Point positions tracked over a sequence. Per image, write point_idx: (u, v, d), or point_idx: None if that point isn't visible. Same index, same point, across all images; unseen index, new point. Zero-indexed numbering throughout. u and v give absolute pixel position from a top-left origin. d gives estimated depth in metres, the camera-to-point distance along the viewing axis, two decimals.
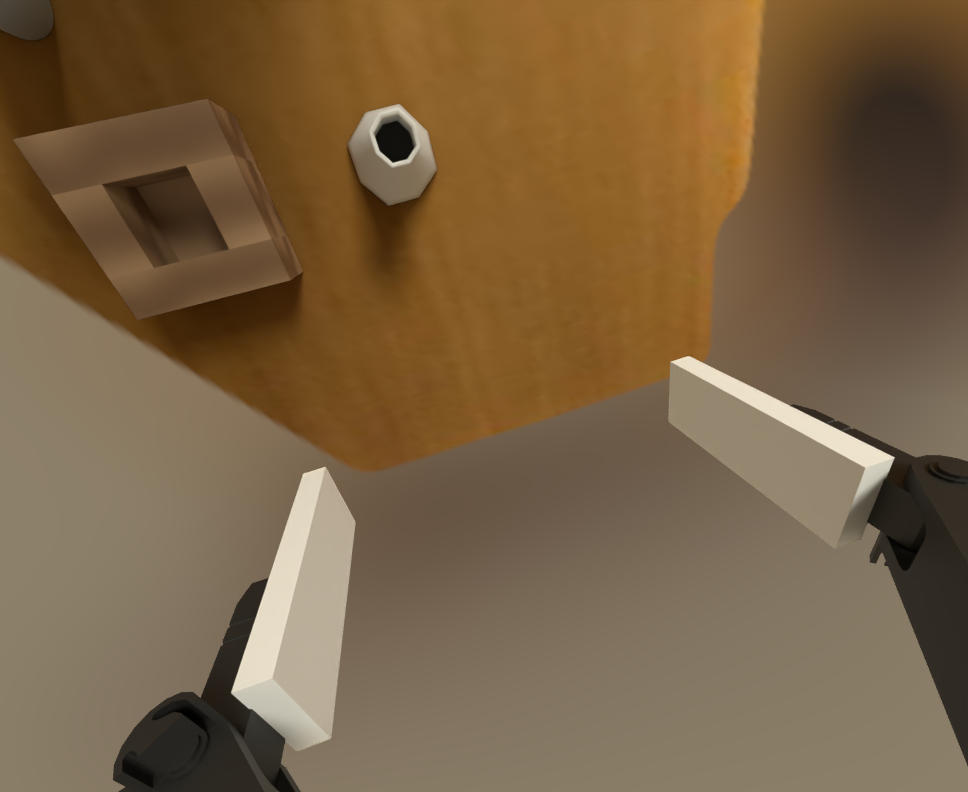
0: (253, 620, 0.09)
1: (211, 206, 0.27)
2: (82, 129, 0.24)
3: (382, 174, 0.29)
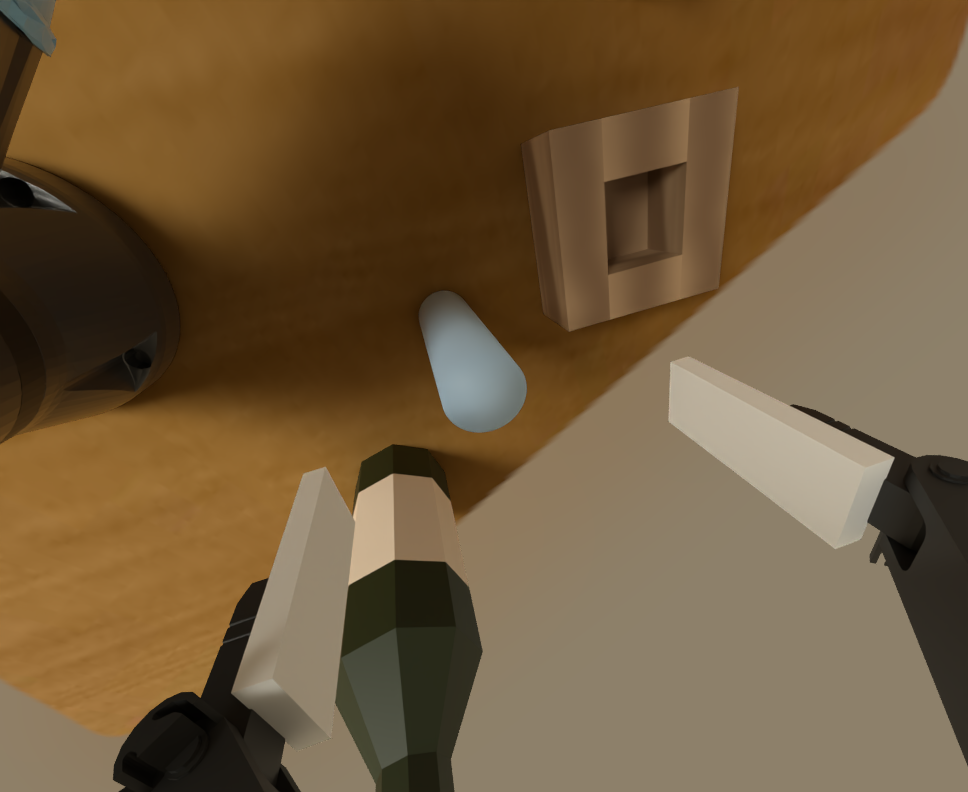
0: (253, 620, 0.09)
1: (643, 167, 0.23)
2: (566, 273, 0.25)
3: None
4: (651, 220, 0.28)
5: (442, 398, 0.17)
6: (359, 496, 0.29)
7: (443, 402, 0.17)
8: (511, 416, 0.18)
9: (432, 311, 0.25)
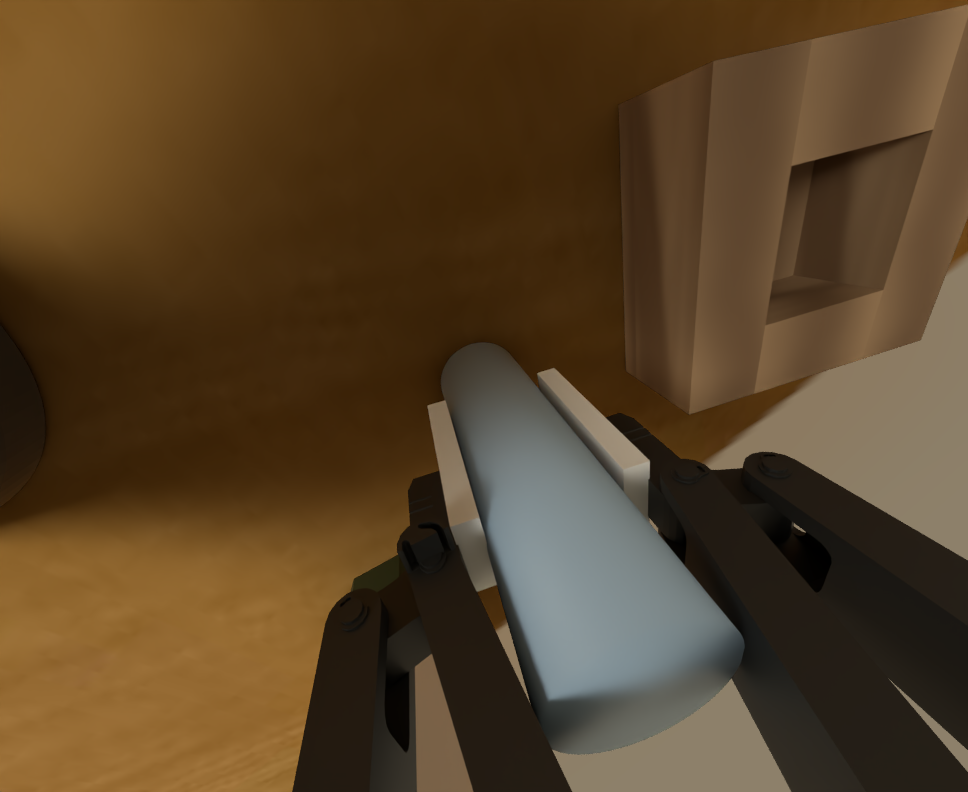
0: (428, 499, 0.11)
1: (861, 139, 0.12)
2: (700, 326, 0.14)
3: None
4: (811, 232, 0.18)
5: (541, 722, 0.06)
6: None
7: (543, 727, 0.06)
8: (689, 711, 0.08)
9: (470, 391, 0.14)
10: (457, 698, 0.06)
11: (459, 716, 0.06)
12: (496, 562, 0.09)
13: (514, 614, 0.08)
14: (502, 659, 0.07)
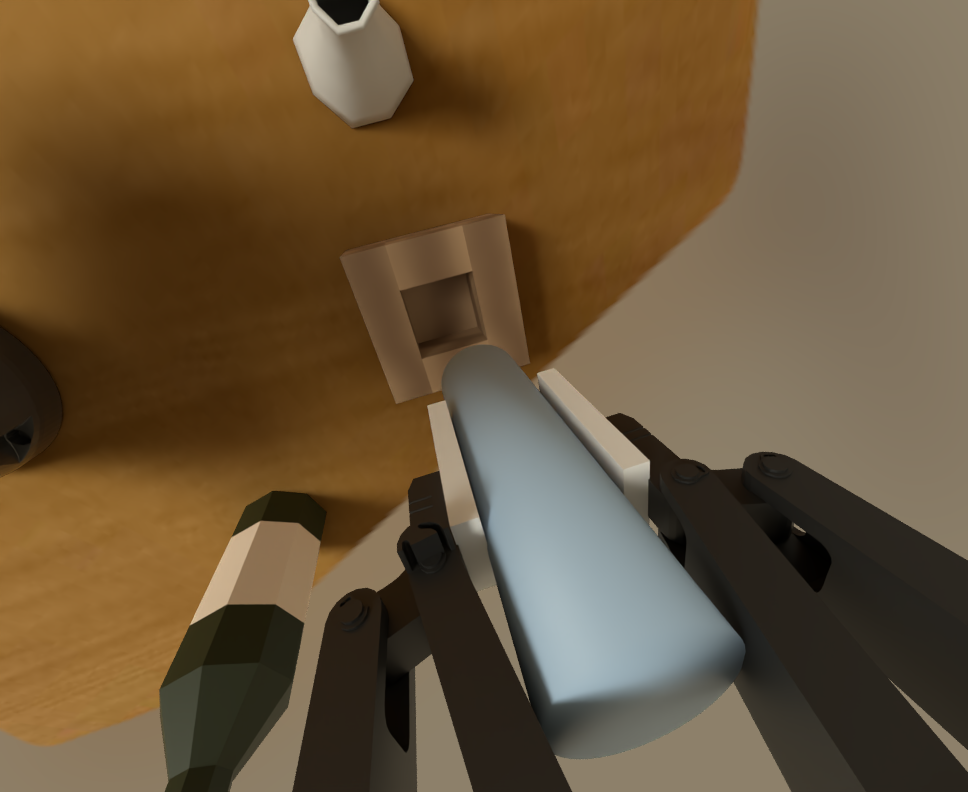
0: (428, 499, 0.11)
1: (433, 277, 0.28)
2: (382, 360, 0.29)
3: (382, 58, 0.22)
4: (473, 305, 0.33)
5: (543, 727, 0.06)
6: (230, 541, 0.34)
7: (544, 732, 0.06)
8: (690, 715, 0.08)
9: (471, 394, 0.14)
10: (457, 698, 0.06)
11: (459, 716, 0.06)
12: (497, 566, 0.09)
13: (515, 619, 0.08)
14: (502, 659, 0.07)
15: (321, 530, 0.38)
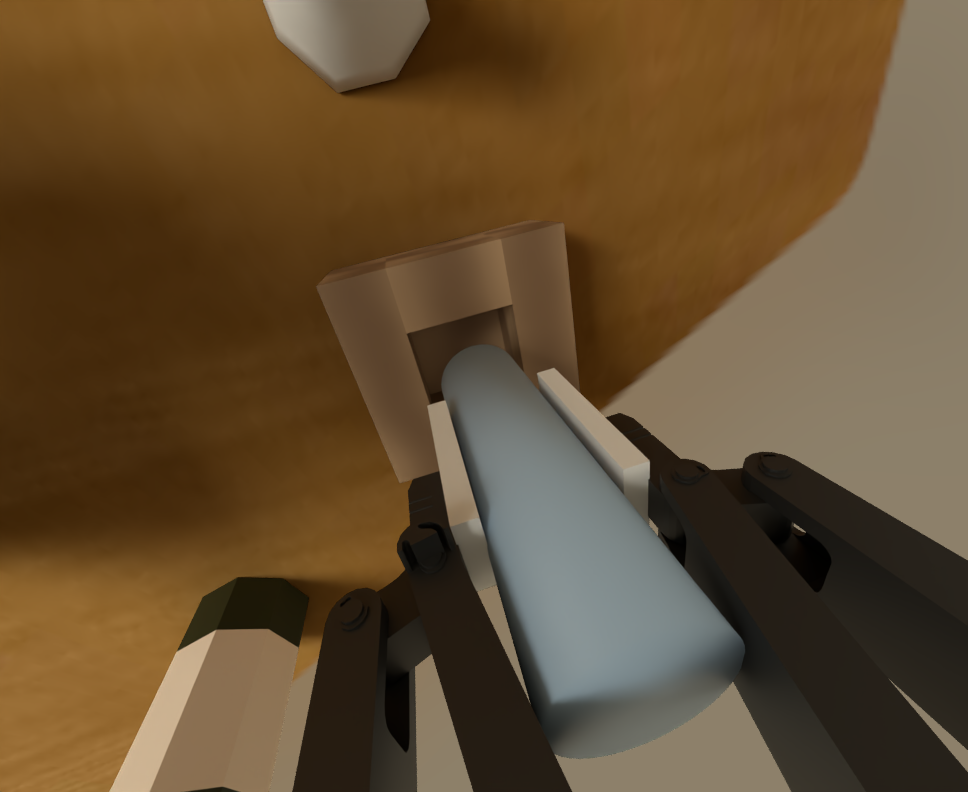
0: (428, 499, 0.11)
1: (456, 314, 0.19)
2: (380, 428, 0.21)
3: None
4: (505, 345, 0.24)
5: (543, 727, 0.06)
6: (174, 658, 0.25)
7: (544, 732, 0.06)
8: (690, 715, 0.08)
9: (471, 394, 0.14)
10: (457, 698, 0.06)
11: (459, 716, 0.06)
12: (497, 566, 0.09)
13: (515, 618, 0.08)
14: (502, 659, 0.07)
15: (300, 629, 0.29)
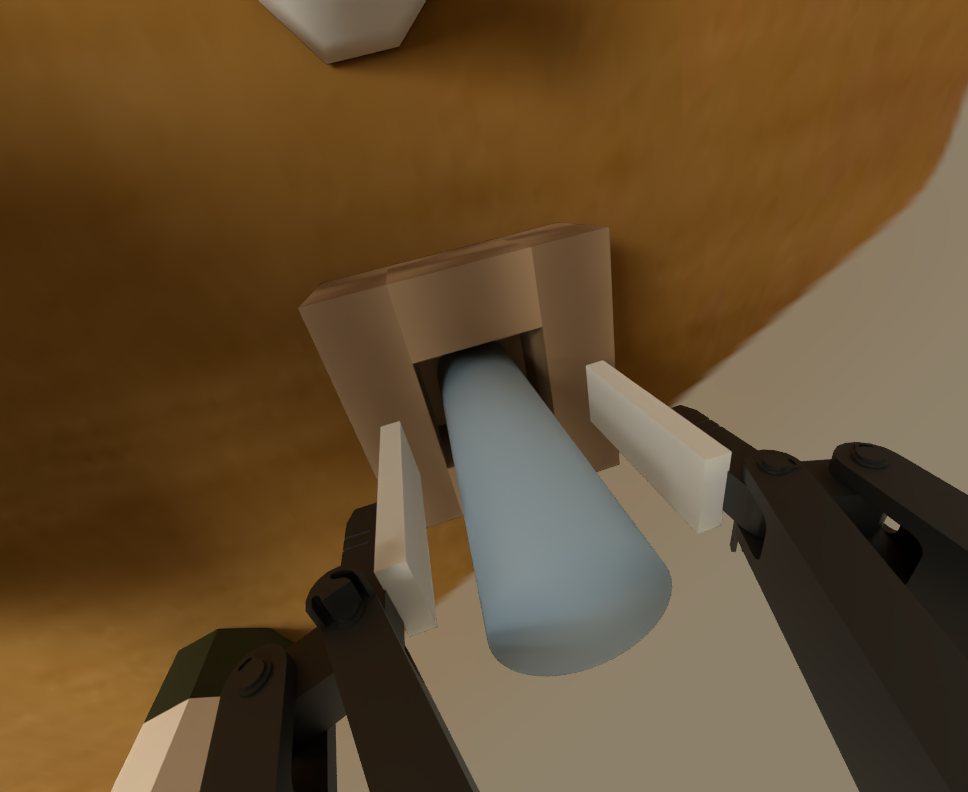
0: (365, 533, 0.10)
1: (473, 340, 0.15)
2: None
3: None
4: (527, 369, 0.20)
5: (489, 632, 0.07)
6: (140, 733, 0.22)
7: (491, 639, 0.07)
8: (630, 643, 0.08)
9: (459, 376, 0.15)
10: (377, 768, 0.06)
11: (379, 789, 0.05)
12: (466, 514, 0.10)
13: (476, 552, 0.09)
14: (425, 711, 0.06)
15: None
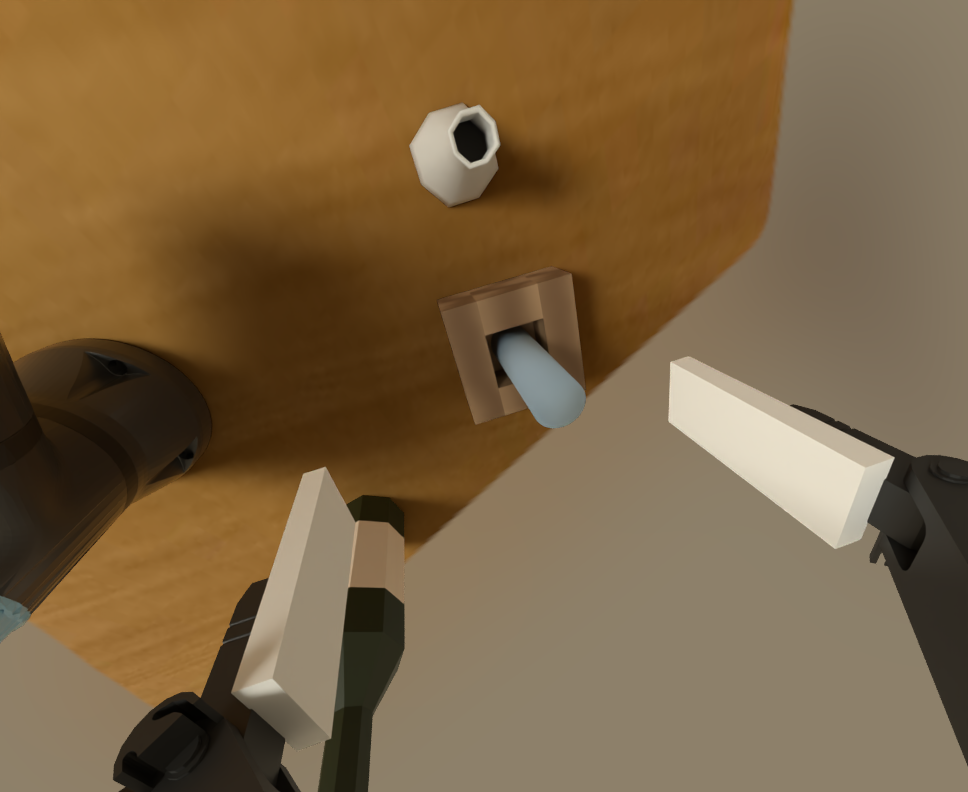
0: (253, 620, 0.09)
1: (512, 324, 0.34)
2: (467, 390, 0.36)
3: (485, 166, 0.28)
4: (537, 341, 0.39)
5: (533, 407, 0.26)
6: None
7: (533, 409, 0.26)
8: (575, 417, 0.28)
9: (507, 342, 0.34)
10: None
11: None
12: (521, 385, 0.29)
13: (526, 392, 0.28)
14: None
15: (403, 528, 0.45)
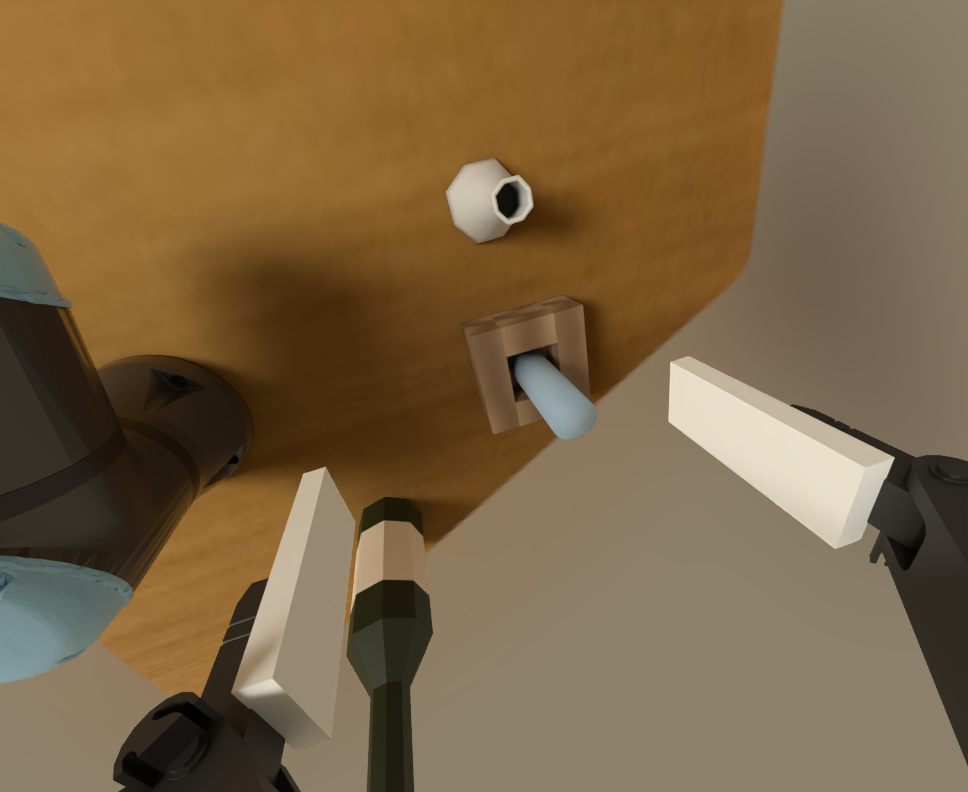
0: (253, 620, 0.09)
1: (530, 347, 0.39)
2: (488, 404, 0.41)
3: None
4: (548, 360, 0.44)
5: (552, 421, 0.31)
6: (362, 535, 0.45)
7: (552, 423, 0.31)
8: (586, 431, 0.32)
9: (525, 363, 0.39)
10: None
11: None
12: (540, 402, 0.33)
13: (545, 408, 0.32)
14: None
15: (421, 528, 0.49)
